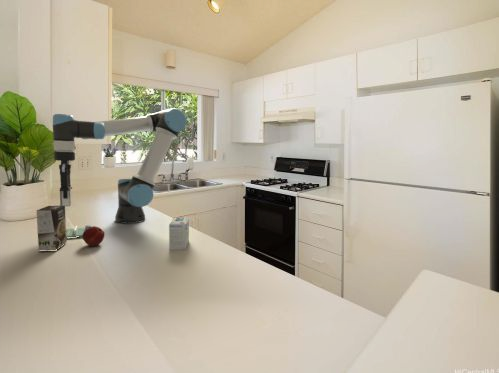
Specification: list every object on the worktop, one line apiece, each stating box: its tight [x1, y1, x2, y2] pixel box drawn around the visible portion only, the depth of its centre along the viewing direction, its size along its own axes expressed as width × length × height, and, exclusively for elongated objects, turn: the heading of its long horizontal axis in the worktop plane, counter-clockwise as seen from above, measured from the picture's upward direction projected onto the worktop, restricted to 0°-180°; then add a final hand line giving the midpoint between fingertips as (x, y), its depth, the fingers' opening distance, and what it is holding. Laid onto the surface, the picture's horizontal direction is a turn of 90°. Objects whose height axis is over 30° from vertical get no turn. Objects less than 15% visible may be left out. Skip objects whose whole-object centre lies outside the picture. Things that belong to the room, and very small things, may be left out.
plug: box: [59, 186, 72, 207], centre depth 122 cm, size 4×4×9 cm
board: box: [66, 224, 92, 239], centre depth 126 cm, size 16×12×3 cm
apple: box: [81, 225, 106, 247], centre depth 112 cm, size 7×8×8 cm
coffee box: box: [35, 205, 68, 251], centre depth 108 cm, size 9×6×16 cm
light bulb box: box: [168, 217, 190, 251], centre depth 116 cm, size 11×7×11 cm, turn 5°
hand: (66, 204), depth 123 cm, fingers closed on plug, 4 cm apart
